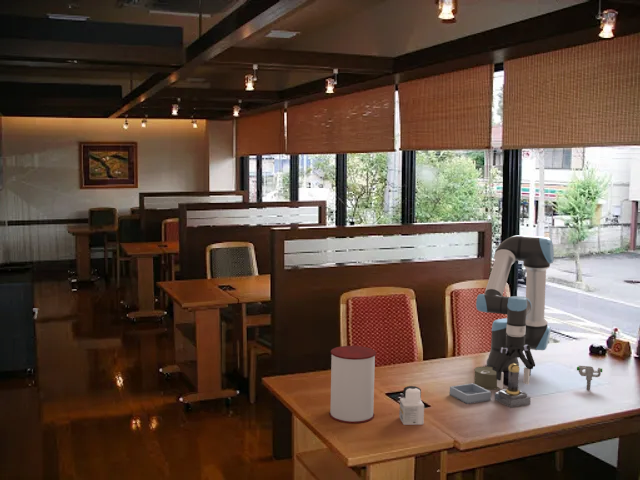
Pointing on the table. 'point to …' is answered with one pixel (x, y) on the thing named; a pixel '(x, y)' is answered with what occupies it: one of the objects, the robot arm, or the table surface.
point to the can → (485, 378)
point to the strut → (513, 379)
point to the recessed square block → (512, 398)
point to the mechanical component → (588, 373)
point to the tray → (470, 393)
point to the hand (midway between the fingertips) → (513, 385)
